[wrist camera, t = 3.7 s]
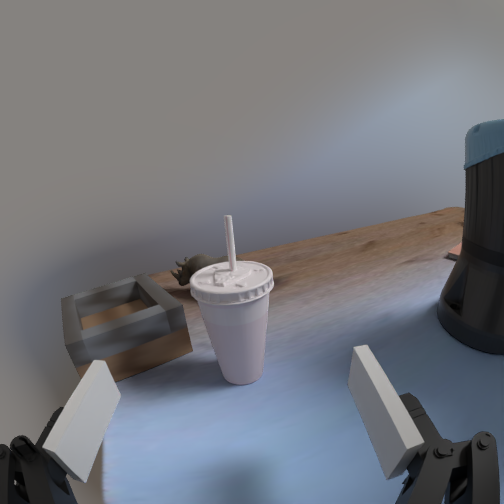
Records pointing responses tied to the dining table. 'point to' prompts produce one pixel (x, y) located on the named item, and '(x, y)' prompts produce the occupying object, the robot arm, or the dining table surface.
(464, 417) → the dining table surface
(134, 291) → the grey boxy open piece
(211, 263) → the rhino figurine
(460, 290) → the robot arm
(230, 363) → the smoothie
